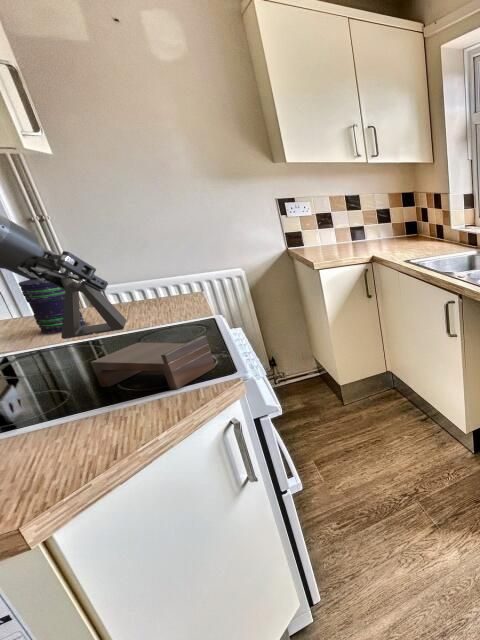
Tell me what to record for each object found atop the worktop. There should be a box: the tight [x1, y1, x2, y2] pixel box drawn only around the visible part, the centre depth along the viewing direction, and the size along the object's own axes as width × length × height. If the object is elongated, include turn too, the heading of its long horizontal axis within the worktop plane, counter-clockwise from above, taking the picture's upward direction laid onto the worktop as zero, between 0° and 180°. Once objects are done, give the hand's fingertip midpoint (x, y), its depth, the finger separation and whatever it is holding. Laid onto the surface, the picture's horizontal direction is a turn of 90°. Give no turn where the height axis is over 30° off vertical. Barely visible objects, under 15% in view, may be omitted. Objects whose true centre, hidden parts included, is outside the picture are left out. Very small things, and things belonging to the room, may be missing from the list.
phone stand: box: [60, 273, 127, 340], centre depth 82 cm, size 9×6×12 cm, turn 126°
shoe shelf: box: [90, 335, 216, 390], centre depth 94 cm, size 18×11×8 cm, turn 85°
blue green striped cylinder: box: [17, 279, 87, 335], centre depth 125 cm, size 10×10×15 cm
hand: (88, 287), depth 83 cm, fingers closed on phone stand, 6 cm apart
